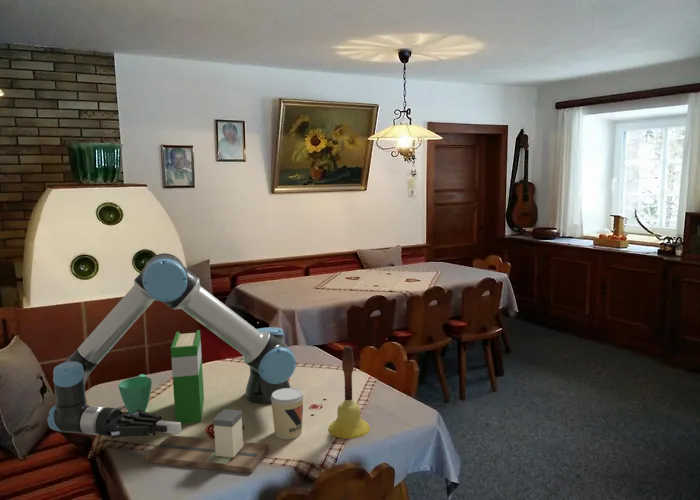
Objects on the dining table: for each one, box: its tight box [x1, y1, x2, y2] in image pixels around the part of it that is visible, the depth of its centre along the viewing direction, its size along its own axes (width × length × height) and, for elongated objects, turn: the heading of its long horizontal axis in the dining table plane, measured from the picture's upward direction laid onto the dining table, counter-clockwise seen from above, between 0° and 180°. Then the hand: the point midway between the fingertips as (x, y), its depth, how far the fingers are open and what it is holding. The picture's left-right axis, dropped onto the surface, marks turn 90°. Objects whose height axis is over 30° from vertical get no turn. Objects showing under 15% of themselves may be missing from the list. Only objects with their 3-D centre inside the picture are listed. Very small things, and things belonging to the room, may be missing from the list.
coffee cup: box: [271, 387, 305, 440], centre depth 156 cm, size 9×9×12 cm
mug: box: [118, 373, 153, 414], centre depth 175 cm, size 15×10×10 cm
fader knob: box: [212, 408, 244, 458], centre depth 143 cm, size 5×6×10 cm
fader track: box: [144, 434, 270, 474], centre depth 145 cm, size 30×12×2 cm, turn 77°
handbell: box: [327, 345, 371, 440], centre depth 158 cm, size 12×12×25 cm
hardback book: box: [170, 329, 205, 425], centre depth 172 cm, size 18×7×24 cm, turn 12°
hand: (179, 428), depth 146 cm, fingers closed
